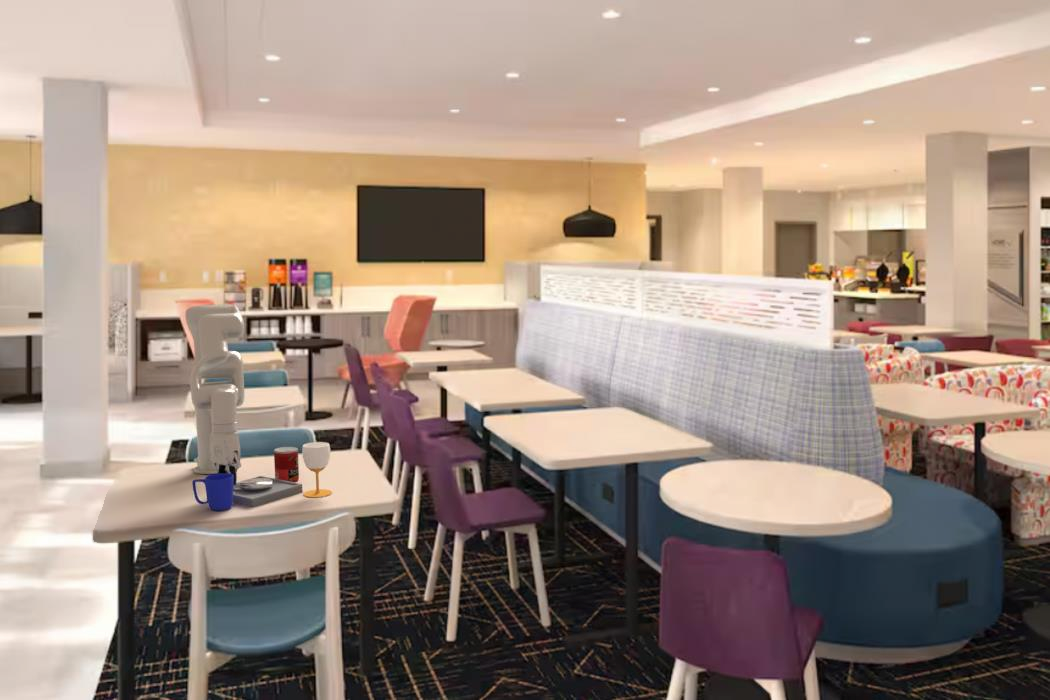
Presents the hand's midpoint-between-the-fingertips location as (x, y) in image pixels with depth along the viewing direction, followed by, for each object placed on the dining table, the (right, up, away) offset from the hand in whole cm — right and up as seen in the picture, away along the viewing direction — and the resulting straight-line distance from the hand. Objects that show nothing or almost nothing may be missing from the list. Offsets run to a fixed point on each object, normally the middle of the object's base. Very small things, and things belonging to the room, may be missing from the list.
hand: (227, 483), depth 280 cm
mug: (0, -6, -11) cm, 13 cm away
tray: (+8, -4, +4) cm, 10 cm away
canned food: (+14, -2, +21) cm, 25 cm away
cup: (+28, -4, +4) cm, 28 cm away
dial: (+6, -1, +3) cm, 7 cm away
